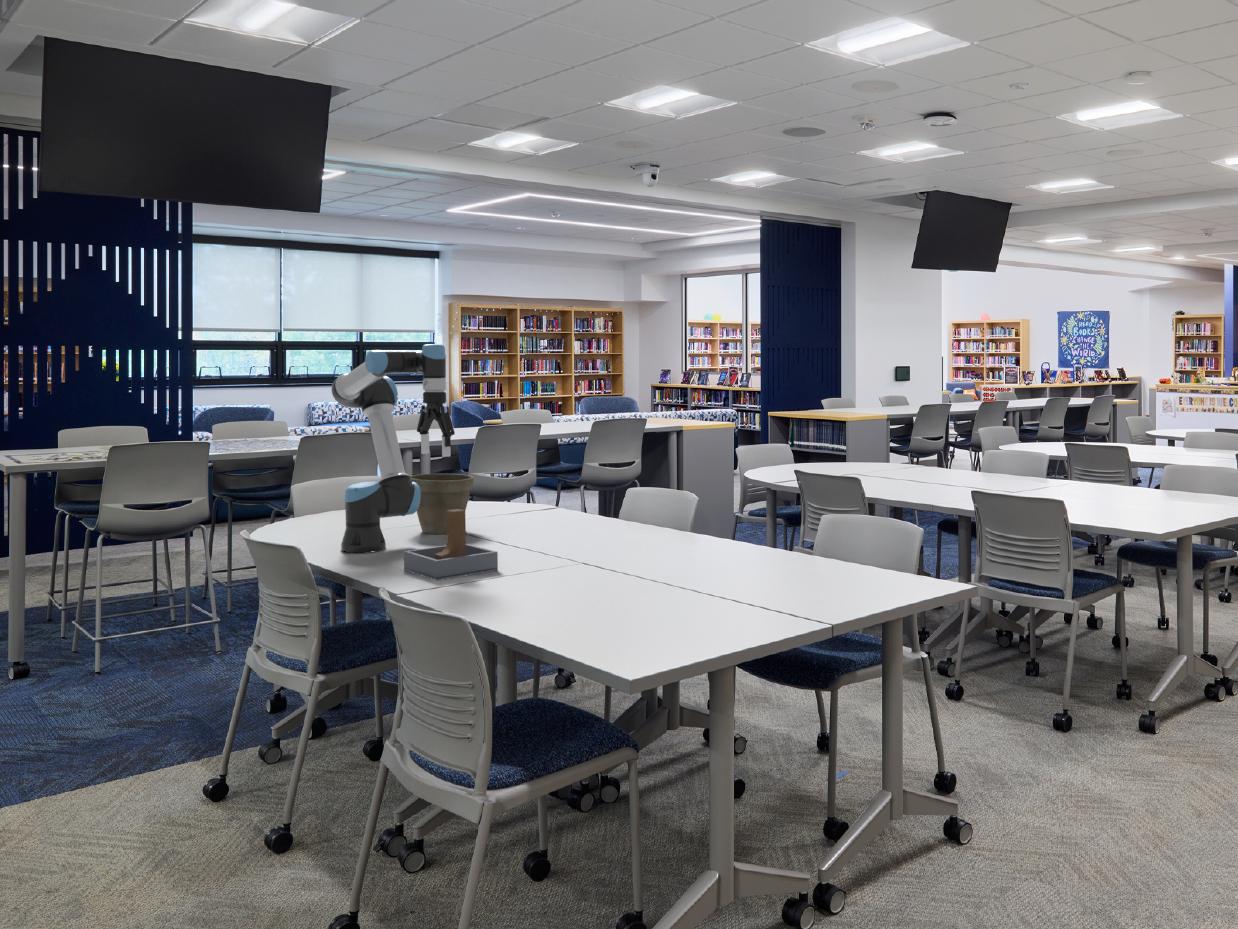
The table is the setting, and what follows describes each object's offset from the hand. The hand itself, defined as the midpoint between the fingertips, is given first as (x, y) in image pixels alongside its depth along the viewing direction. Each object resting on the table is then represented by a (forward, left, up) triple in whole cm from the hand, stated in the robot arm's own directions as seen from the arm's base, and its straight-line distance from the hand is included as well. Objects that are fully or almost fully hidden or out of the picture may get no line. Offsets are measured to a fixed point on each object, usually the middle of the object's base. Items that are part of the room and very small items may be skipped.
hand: (435, 455), depth 318 cm
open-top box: (+20, -7, -35) cm, 41 cm away
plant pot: (-44, +28, -35) cm, 63 cm away
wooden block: (+20, -7, -34) cm, 40 cm away
